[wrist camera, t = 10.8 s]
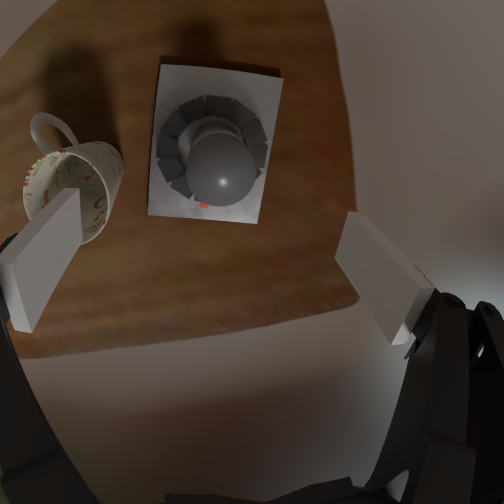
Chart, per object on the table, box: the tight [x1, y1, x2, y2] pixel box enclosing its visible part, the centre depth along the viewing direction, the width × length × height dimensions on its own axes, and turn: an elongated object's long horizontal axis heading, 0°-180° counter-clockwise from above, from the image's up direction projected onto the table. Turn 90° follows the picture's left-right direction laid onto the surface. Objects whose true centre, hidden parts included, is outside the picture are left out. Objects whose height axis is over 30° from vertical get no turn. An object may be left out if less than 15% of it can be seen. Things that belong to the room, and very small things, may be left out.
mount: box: [148, 64, 283, 224], centre depth 30 cm, size 12×16×3 cm
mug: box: [23, 112, 124, 245], centre depth 26 cm, size 8×13×10 cm, turn 30°
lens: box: [186, 123, 256, 207], centre depth 27 cm, size 5×5×10 cm
